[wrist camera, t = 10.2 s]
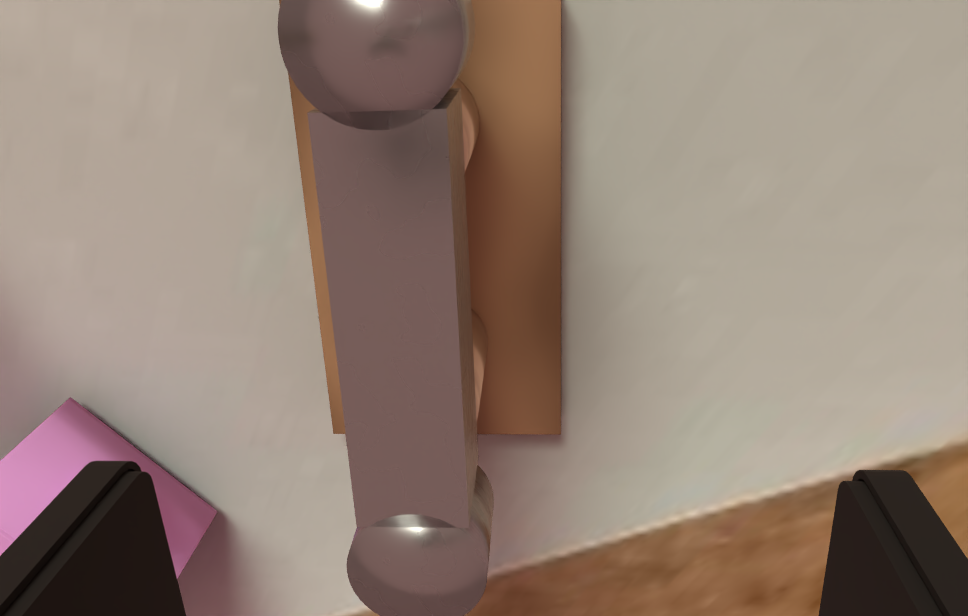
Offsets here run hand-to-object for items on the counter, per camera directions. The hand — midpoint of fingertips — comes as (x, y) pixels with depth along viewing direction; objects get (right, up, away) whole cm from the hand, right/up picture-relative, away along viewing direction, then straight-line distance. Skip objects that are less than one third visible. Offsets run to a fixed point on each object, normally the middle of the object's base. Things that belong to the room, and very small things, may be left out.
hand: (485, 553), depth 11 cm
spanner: (-2, +4, +16) cm, 16 cm away
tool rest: (-2, +7, +22) cm, 23 cm away
